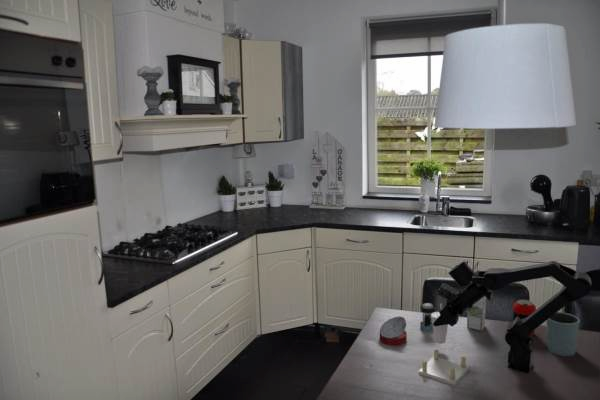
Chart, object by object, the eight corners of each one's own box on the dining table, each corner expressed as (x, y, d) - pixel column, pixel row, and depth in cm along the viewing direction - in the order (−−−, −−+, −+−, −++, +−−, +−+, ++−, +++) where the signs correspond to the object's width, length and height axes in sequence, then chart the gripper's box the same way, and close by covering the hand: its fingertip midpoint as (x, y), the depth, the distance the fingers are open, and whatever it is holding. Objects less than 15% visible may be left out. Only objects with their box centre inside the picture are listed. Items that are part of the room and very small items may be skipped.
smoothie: (436, 346, 172) (437, 307, 169) (426, 338, 178) (427, 301, 176) (453, 343, 173) (453, 305, 171) (443, 336, 180) (443, 298, 177)
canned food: (405, 356, 183) (409, 339, 176) (377, 351, 184) (380, 335, 178) (405, 330, 191) (409, 313, 185) (379, 326, 193) (381, 310, 187)
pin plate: (469, 369, 163) (469, 357, 162) (455, 385, 154) (455, 373, 153) (433, 358, 170) (434, 347, 170) (418, 373, 161) (418, 362, 160)
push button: (435, 326, 196) (436, 301, 194) (439, 332, 191) (440, 307, 189) (418, 326, 196) (419, 302, 194) (422, 332, 191) (422, 307, 189)
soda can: (513, 336, 186) (514, 305, 184) (511, 327, 193) (513, 297, 191) (535, 338, 183) (537, 307, 181) (533, 329, 190) (534, 299, 188)
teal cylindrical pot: (579, 358, 168) (582, 325, 166) (546, 354, 171) (548, 321, 169) (574, 345, 177) (576, 313, 175) (542, 341, 181) (544, 310, 178)
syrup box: (485, 325, 195) (486, 290, 192) (481, 331, 190) (483, 295, 188) (470, 323, 198) (471, 287, 195) (466, 328, 193) (467, 292, 191)
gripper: (458, 269, 178) (427, 295, 185) (446, 286, 162) (412, 313, 169) (481, 294, 175) (448, 318, 182) (471, 313, 159) (435, 339, 166)
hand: (436, 321), depth 175 cm, fingers closed on smoothie, 6 cm apart
